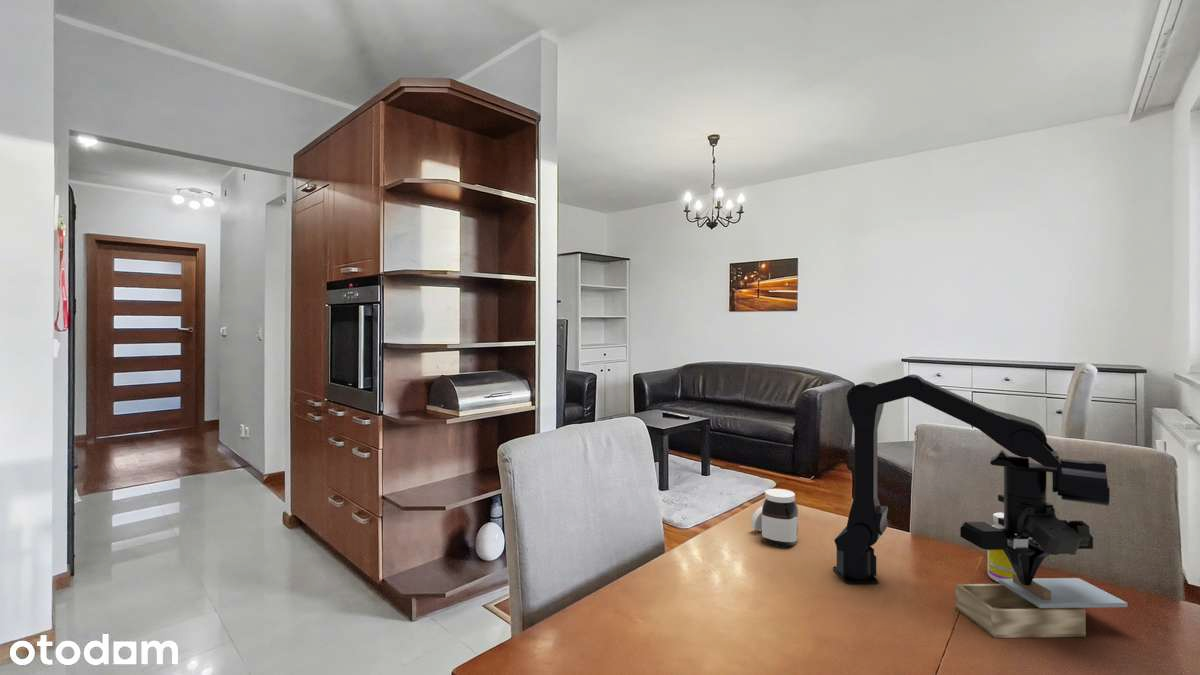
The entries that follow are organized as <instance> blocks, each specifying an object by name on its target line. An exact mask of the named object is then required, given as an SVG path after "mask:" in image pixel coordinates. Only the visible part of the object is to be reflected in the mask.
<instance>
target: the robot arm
mask: <svg viewBox="0 0 1200 675" xmlns="http://www.w3.org/2000/svg"><path fill="white" fill-rule="evenodd" d="M908 397H909V398H913V399H915V400H916V401H919V402H921V403H924V404H925V405H928V406H930V407H932V408H934V409H935V410H938V411H941V412H943V413H945V414H946V415H949V416H951V417H952V418H954V419H957V420H959V421H961V422H964V423H965V424H967V425H970V426H972V427H974V428H976V429H978V430H979V431H980V432H982V433H983V434H985V435H986V437H988V438H990V439H991V440H992V441H994V442H995V443H997V444H998V445H999V446H1001V447H1003V448H1004V449H1006V450H1007V451H1008V452H1010V453H1011V454H1014V455H1008V454H1007V452H1005V451H1004V450H1003V449H1002V450H1000V451H999V452H998V454H996V455H995V456H992V457H991V458H990V462H989V463H990V465H991V466H994V467H995V466H996V467H1003V494H998V495H997V501H999V502H1001V503H1003V513H1004V518H998V524H1000V525H1002V526H1004V528H1003V529H998V528H996V527H994V526H991V524H990V523H987V522H985V521H965V522H963V523H962V524H961V525H960V527H959V528H960V529H959V530H960V533H959V534H960V535H959V536H960V537H961V538H962V539H964V540H966V541H968V542H969V543H971V544H973V545H975V546H976V547H978V548H980V549H983V550H986V551H987V550H1003V551H1004V553H1005V554H1006V556H1007V557H1008V559H1009V561H1010V563H1011V565H1012V567H1013V569H1014V571H1015V573H1016V575H1017V577H1018V579H1019V581H1020V583H1021V584H1023V585H1025V586H1029V585H1030V584H1031V582H1032V580H1033V579H1034V578H1035V576H1036V573H1037V572H1038V570H1039V567H1040V566H1041V564H1042V562H1043V561H1044V559H1045V558H1046V557H1049V556H1051V555H1052V556H1058V555H1070V556H1072V555H1076V554H1077V552H1078V550H1088V549H1089V550H1094V537H1093V536H1092V534H1091V533H1090V525H1088V524H1087V522H1084V521H1083V520H1069V521H1068V520H1066V519H1059V518H1057V516H1056V509H1055V508H1054V504H1052V503H1049V502H1047V501H1048V500H1047V499H1048V498H1047V495H1048V494H1047V491H1048V488H1047V486H1048V485H1047V484H1048V483H1047V481H1048V480H1047V479H1048V478H1047V477H1048V476H1047V473H1051V492H1052V493H1057V496H1060V500H1064V501H1071V502H1076V503H1084V504H1090V505H1098V506H1105V507H1109V504H1110V496H1111V495H1110V492H1111V491H1110V486H1109V483H1108V474H1107V465H1106V463H1105V462H1104V461H1097V460H1088V461H1087V460H1079V459H1077V460H1076V459H1069V458H1068V459H1067V458H1061V457H1060V454H1058V451H1057V450H1054V448H1052V446H1051V445H1050V444H1049V443H1048V440H1047V439H1048V438H1047V435H1046V433H1045V430H1044V428H1043V427H1042V426H1041V425H1040V424H1039V423H1037V422H1036V421H1034V420H1032V419H1028V418H1025V417H1022V416H1018V415H1015V414H1012V413H1008V412H1002V411H999V410H994V409H992V408H988V407H986V406H983V405H981V404H979V403H976V402H974V401H973V400H970V399H968V398H966V397H964V396H961V395H959V394H957V393H955V392H952V391H951V390H948V389H946V388H944V387H941V386H939V385H937V384H935V383H933V382H931V381H928V380H925V379H924V378H923V377H922V376H920V375H918V374H908V375H906V376H904V377H901V378H897V379H893V380H889V381H885V382H881V383H878V384H877V383H875V382H871V381H863V382H861V383H859V384H856V385H853V386H852V387H851V388H849V390H848V391H847V393H846V403H847V409H848V414H849V417H850V420H851V423H852V425H853V429H854V430H853V431H854V433H853V434H854V436H853V438H854V439H853V442H854V445H853V446H854V447H853V450H854V454H853V455H854V458H853V460H854V462H853V463H854V465H853V466H854V467H853V468H854V470H853V471H854V474H853V475H854V477H853V478H854V479H853V480H854V482H853V485H854V486H853V487H854V489H853V494H854V495H853V501H852V503H851V506H850V510H849V513H848V518H847V522H846V526H845V527H844V528H843V529H842V531H841V532H840V533H839V534H838V535H837V536H836V537H835V538H834V539H833V540H834V543H835V546H836V566H832V570H833V572H835V573H836V574H837V575H838V577H840V578H841V579H842V581H844V582H845V584H848V585H849V584H851V585H852V584H853V585H854V584H879V581H880V580H879V579H878V578H877V556H876V555H875V548H873V547H872V546H874V545H875V544H876V543H877V542H878V540H879V539H880V537H881V536H883V534H884V533H885V531H886V530H887V528H888V527H889V522H888V518H887V515H888V511H889V509H888V508H889V506H888V505H881V504H880V500H879V498H878V496H879V495H878V428H879V424H880V421H881V417H882V415H883V410H884V406H885V404H887V403H890V402H894V401H897V400H901V399H905V398H908ZM1029 458H1031V459H1032V460H1033V461H1036V462H1037V463H1036V462H1035V463H1034V462H1030V460H1029ZM1015 534H1017V535H1015Z"/></svg>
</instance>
